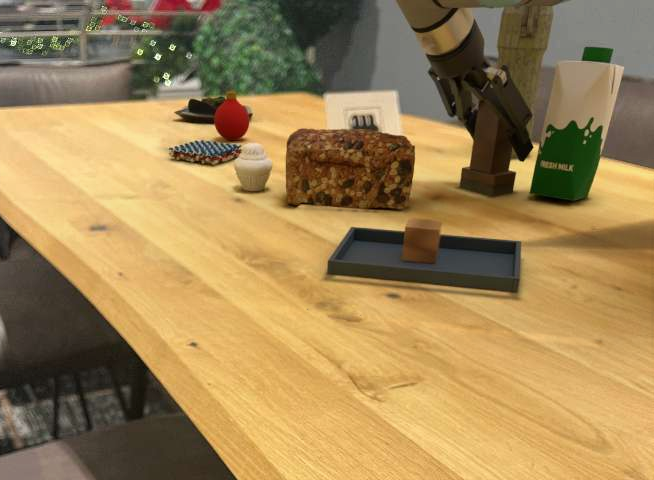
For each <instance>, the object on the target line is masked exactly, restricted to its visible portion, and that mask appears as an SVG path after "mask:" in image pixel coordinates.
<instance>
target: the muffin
mask: <svg viewBox="0 0 654 480" xmlns="http://www.w3.org/2000/svg"><path fill="white" fill-rule="evenodd" d="M241 149H242V151H241V152H242V153H241V154H240V155H239V157H238V158H237V157H236V159H235V160H234V162H233V169H234V171H235V175H236V177H237V180H238V181H239V183H240V185H241V187H242V189H243V190H244V191H247V192H259V191H263V190H264V188H265V187H266V184H267V183H268V181H269V178H270V176H271V172H272V171H273V170H272V169H273V162H272V160H271V159H270V158H269V157H268V155H267V153H266V152H265V148H264V146H263V145H262V144H261V143H257V142H254V141H252V142H247V143H245V144H244V145H242V147H241Z"/></svg>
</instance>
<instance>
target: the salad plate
mask: <svg viewBox="0 0 654 480" xmlns="http://www.w3.org/2000/svg"><path fill="white" fill-rule="evenodd" d="M226 99H227V98H226V97H225V96H223V95H219V96H217V97H216V96H211V97H210V96H207V97H206V98H201V100H199V99H196V98H190V99H189V100H188V104H187V105H186V106H183V107H182V108H181V109H179V110H176V111H174V112H173V113H174V114H175V115H176V116H179V117H180V118H182V119H183V120H184V121H185V122H187V123H191V124H192V123H193V124H201V125H202V124H207V125H208V124H211V125H215V124H214V117H215V113H216V111H217V109H218V108H219V106H220V105H222V104H223V103H224V102H225V101H226ZM241 105H242V106H244V108H245V109H246V110H247V112H248V115H249V120H250V119H251V118H252V117H253V114H254V113H253V109H252V107H251V106H249V105H243V104H241Z"/></svg>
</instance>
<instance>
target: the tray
mask: <svg viewBox="0 0 654 480" xmlns="http://www.w3.org/2000/svg"><path fill="white" fill-rule="evenodd" d="M404 234H405V230H394V229H393V230H392V229H383V228H371V227H359V226H351V227H350V228H349V230H348V231H347V233H346V234H344V236H343V238H342V240H341V241H340V242H339V244H338V245H337V247H336V248H335V249H334V251H333V253H332V254H331V255H330V257H329V258H328V260H327V270H326V271H327V275H333V276H334V275H335V276H343V277H344V276H345V277H354V278H365V279H375V280H385V281H397V282H403V283H404V282H405V283H414V284H425V285H435V286H444V287H445V286H446V287H456V288H466V289H476V290H484V291H495V292H496V291H497V292H506V293H517V294H518V291H519V286H520V280H521V259H522V241H521V240H511V239H499V238H487V237H475V236H464V235H454V234H453V235H452V234H442V233H441V238H440V246H439V253H438V256H437V259H436V263H435V264H434V263H423V262H412V261H402V253H403V243H404Z"/></svg>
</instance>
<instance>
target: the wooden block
mask: <svg viewBox="0 0 654 480" xmlns="http://www.w3.org/2000/svg"><path fill="white" fill-rule="evenodd" d="M443 221H444V220H441V219H428V218H416V217H409V218H408V220H407V222H406V224H405V227H404V231H405V234H404V243H403V253H402V261H412V262H423V263H434V264H435V263H436V259H437V256H438V253H439V246H440V238H441V234H442V229H443Z"/></svg>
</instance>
